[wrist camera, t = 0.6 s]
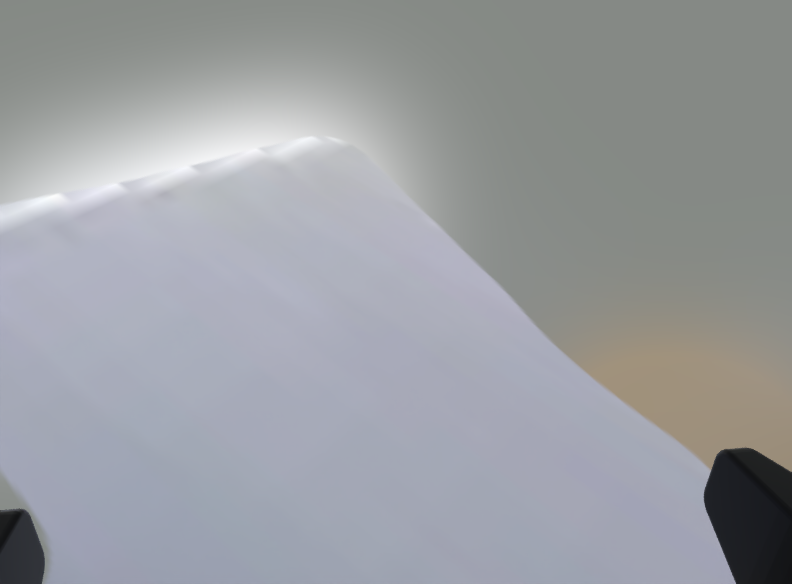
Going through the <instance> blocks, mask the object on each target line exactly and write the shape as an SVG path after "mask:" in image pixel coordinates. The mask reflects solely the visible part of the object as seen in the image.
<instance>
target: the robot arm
mask: <svg viewBox="0 0 792 584" xmlns="http://www.w3.org/2000/svg"><path fill="white" fill-rule="evenodd" d="M704 503H705V508H706V511H707V513H708V516H709V518H710V521H711V523H712V526H713V528H714V531H715V533H716V535H717V538H718V540H719V543H720V545H721V548H722V550H723V553H724V555H725V558H726V560H727V562H728V565H729V567H730V570H731V572H732V575H733V577H734V580H735V582H736V584H792V472H790V471H789V470H787V469H785V468H784V467H782V466H780V465H779V464H777V463H775V462H774V461H772V460H771V459H769V458H767V457H765V456H764V455H762V454H761V453H759V452H757V451H755V450H754V449H751V448H735V449H724V450H722V451H720V452H719V453H718V454H717V456H716V459H715V461H714V464H713V467H712V470H711V473H710V476H709V478H708V481H707V484H706V487H705V491H704ZM44 567H45V558H44V552H43V549H42V546H41V543H40V541H39V538H38V535H37V533H36V530H35V527H34V524H33V522H32V519H31V517H30V515H29V513H28V512H27V511H26V510H24V509H11V510H0V584H42V580H43V575H44Z"/></svg>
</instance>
